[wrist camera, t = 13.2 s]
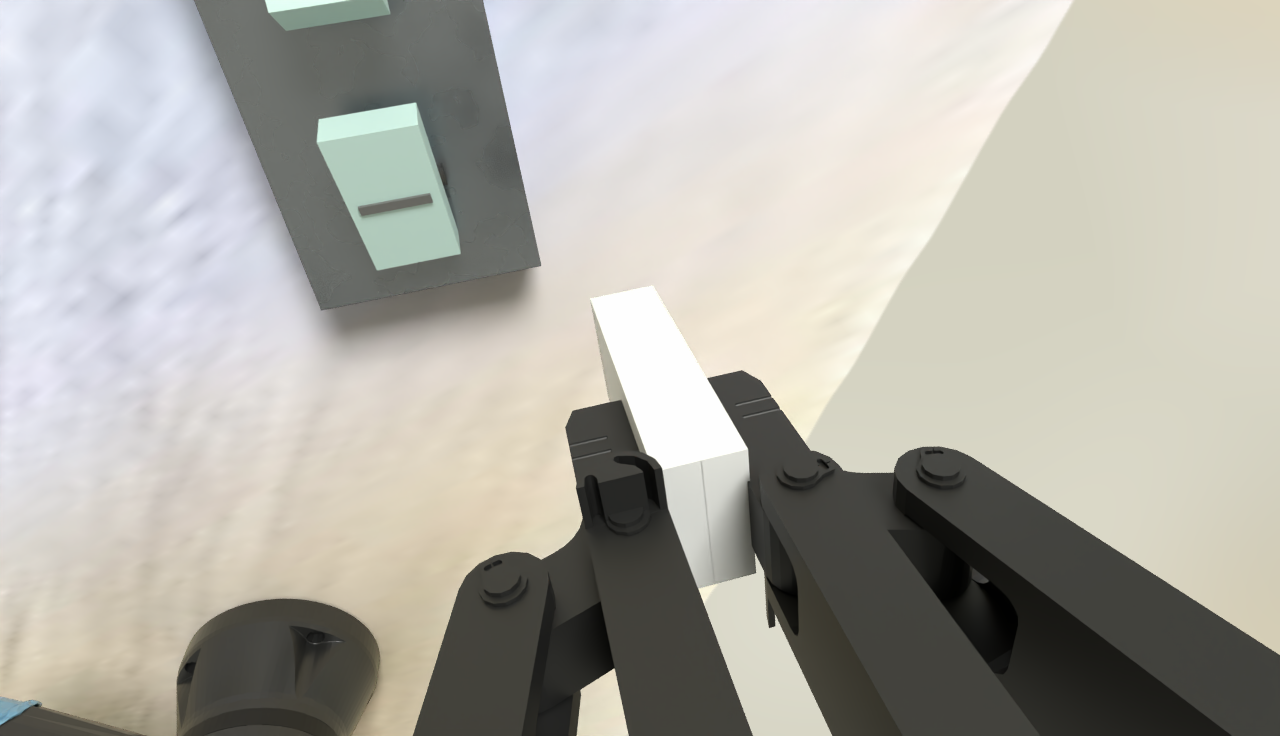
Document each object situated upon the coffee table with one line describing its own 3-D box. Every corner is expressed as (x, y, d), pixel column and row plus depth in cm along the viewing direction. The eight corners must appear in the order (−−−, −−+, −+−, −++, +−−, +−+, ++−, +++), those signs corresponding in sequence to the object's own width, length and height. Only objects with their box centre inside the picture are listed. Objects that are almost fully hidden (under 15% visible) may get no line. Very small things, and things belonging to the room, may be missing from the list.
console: (331, 279, 45) (312, 320, 39) (135, -219, 32) (69, -256, 27) (534, 238, 46) (543, 272, 41) (426, -252, 33) (418, -295, 28)
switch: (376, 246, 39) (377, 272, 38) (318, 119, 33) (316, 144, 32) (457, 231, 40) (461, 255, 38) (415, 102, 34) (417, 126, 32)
